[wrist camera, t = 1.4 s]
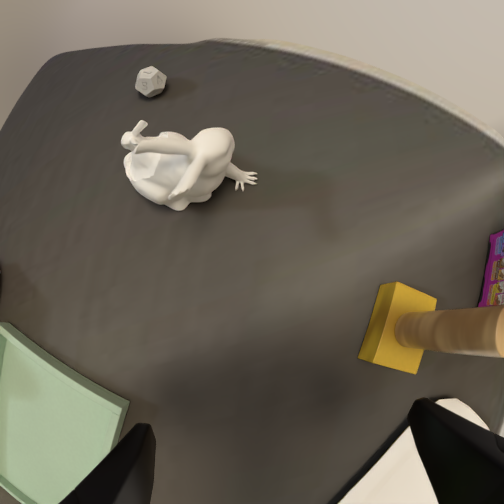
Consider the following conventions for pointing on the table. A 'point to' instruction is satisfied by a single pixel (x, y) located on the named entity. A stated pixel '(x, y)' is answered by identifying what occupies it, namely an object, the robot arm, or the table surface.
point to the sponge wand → (427, 329)
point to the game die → (150, 81)
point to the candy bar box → (494, 272)
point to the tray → (50, 422)
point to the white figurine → (180, 165)
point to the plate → (402, 469)
